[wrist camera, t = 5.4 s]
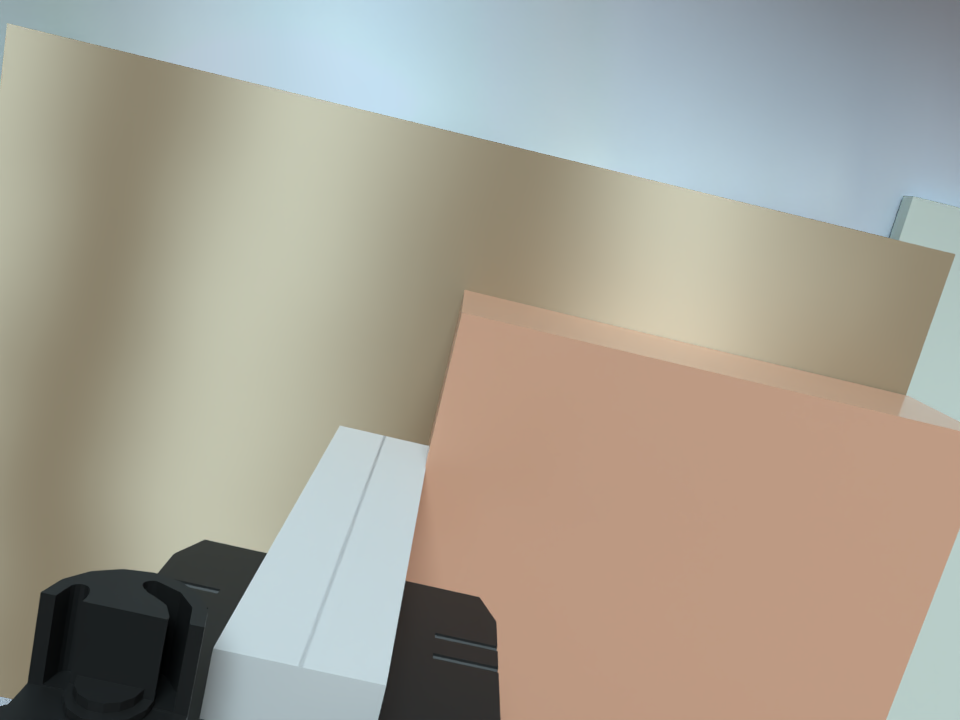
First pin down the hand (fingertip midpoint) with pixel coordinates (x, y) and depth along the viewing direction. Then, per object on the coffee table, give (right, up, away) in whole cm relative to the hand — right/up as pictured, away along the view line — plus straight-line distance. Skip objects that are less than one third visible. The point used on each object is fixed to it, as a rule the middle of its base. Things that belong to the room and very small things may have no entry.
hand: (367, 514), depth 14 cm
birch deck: (+1, +1, +4) cm, 5 cm away
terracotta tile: (+5, -1, +2) cm, 5 cm away
